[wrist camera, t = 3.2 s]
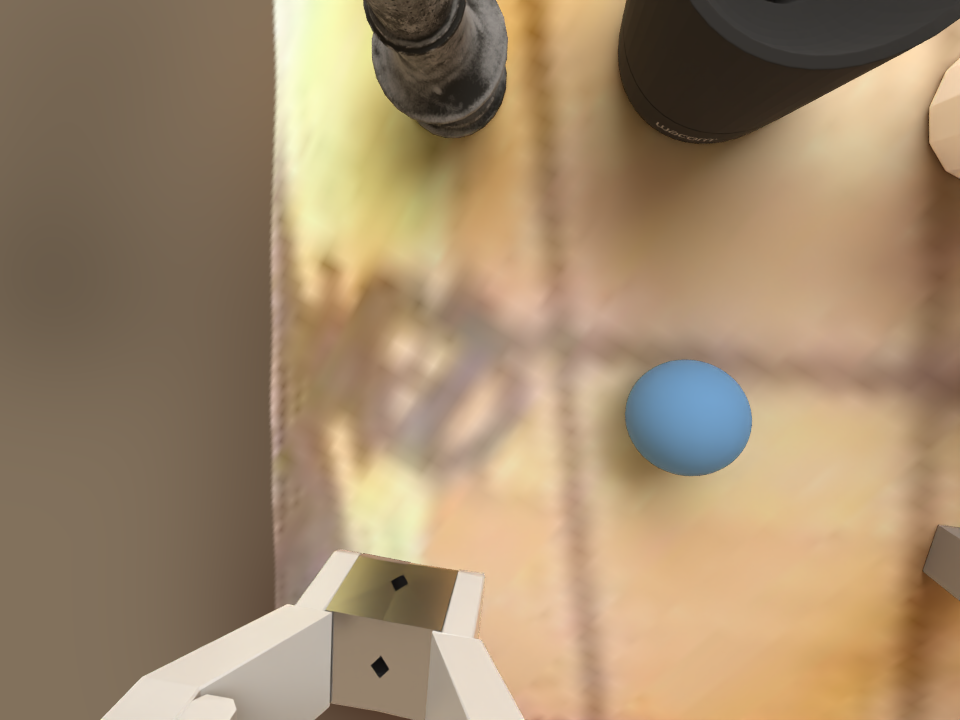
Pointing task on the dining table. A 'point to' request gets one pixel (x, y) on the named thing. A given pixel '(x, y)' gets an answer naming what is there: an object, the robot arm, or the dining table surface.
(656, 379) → the ball
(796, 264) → the dining table surface
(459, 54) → the grey chess piece
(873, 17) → the pen holder
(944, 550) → the post
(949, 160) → the white cup
